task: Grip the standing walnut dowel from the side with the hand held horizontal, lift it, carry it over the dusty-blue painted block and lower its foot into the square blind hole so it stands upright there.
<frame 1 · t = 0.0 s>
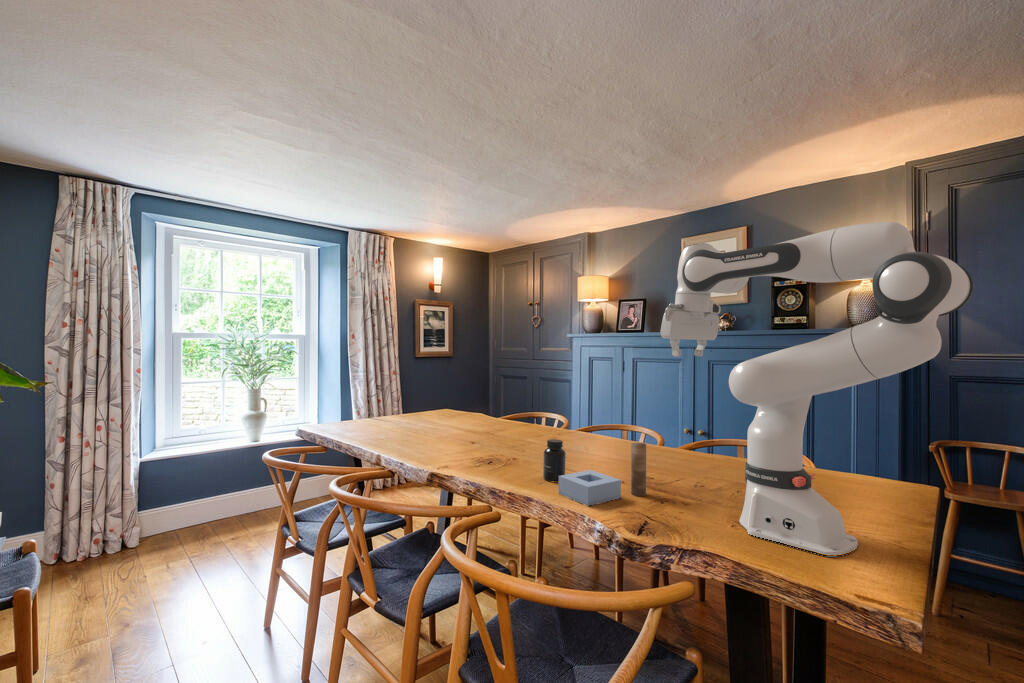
hand: (687, 356, 125), 39 cm above the table, tool pointing down, fingers open, 8 cm apart
dowel: (638, 494, 129), on the table
supplement bottle: (554, 479, 143), on the table
socket block: (589, 496, 127), on the table
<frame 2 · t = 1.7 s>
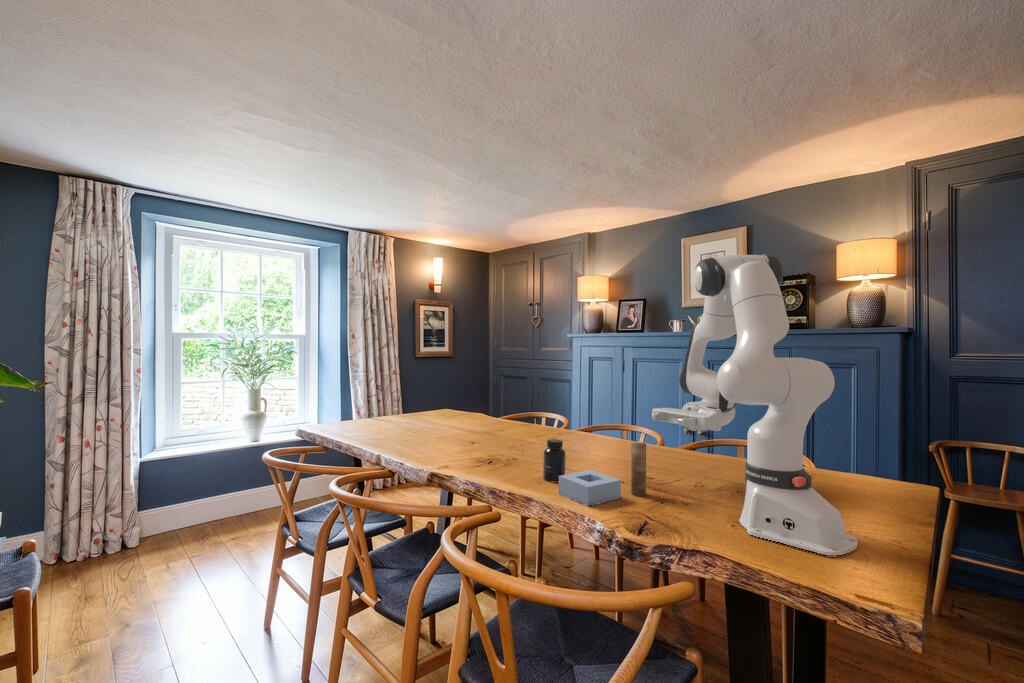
hand: (666, 419, 136), 20 cm above the table, tool horizontal, fingers open, 8 cm apart
nothing on the table moved.
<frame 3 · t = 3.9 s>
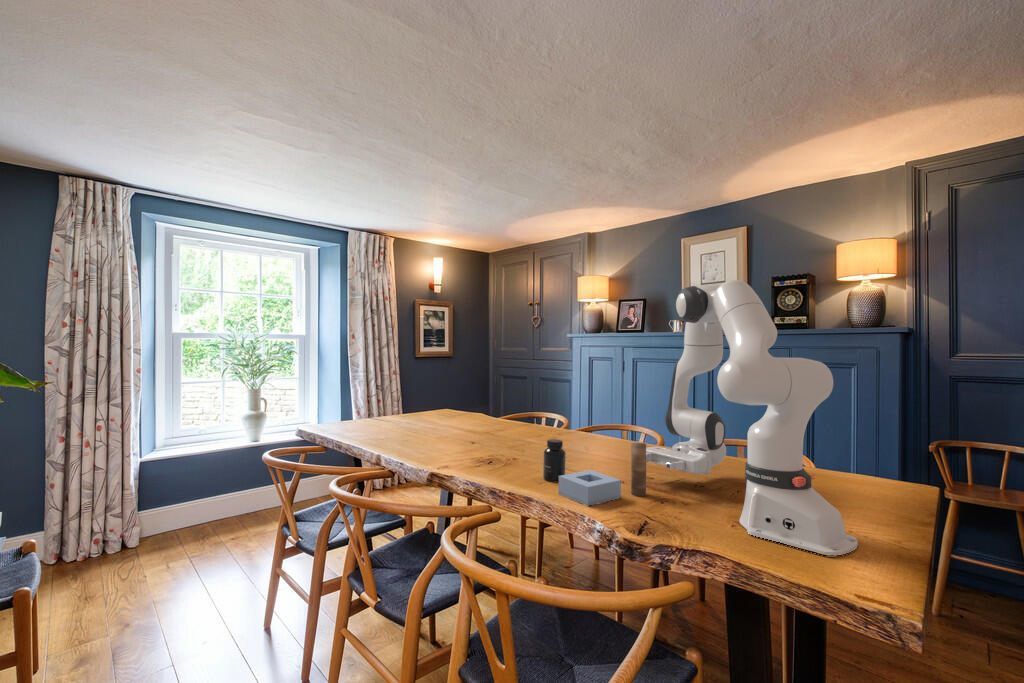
hand: (655, 462, 133), 8 cm above the table, tool horizontal, fingers open, 8 cm apart
nothing on the table moved.
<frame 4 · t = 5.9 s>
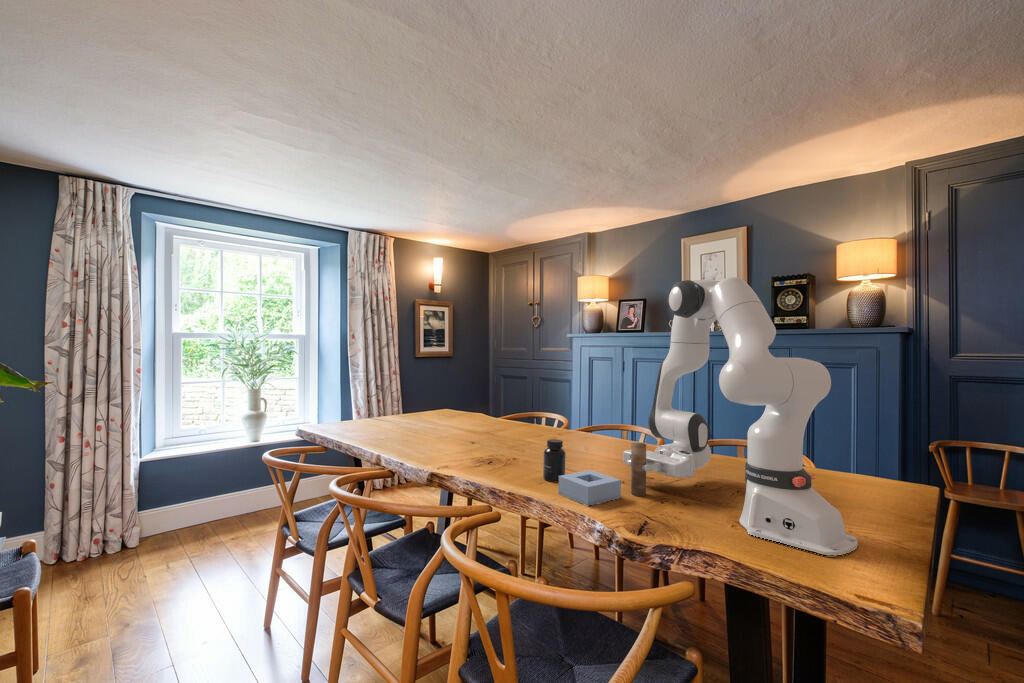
hand: (636, 465, 128), 8 cm above the table, tool horizontal, fingers closed on dowel, 4 cm apart
dowel: (638, 494, 129), on the table, touching gripper
everything else where it was.
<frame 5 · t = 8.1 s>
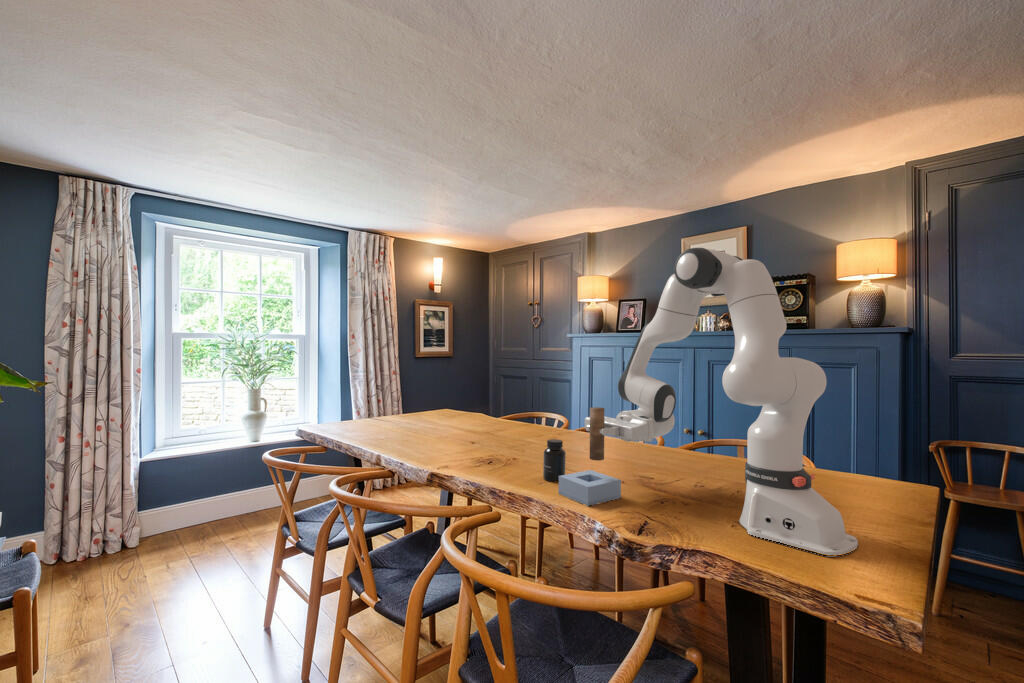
hand: (594, 430, 127), 18 cm above the table, tool horizontal, fingers closed on dowel, 4 cm apart
dowel: (596, 458, 128), point 10 cm above the table, touching gripper
everything else where it was.
when the fingers open (10 cm above the table, at t = 10.4 s): dowel drops 1 cm, resting on socket block.
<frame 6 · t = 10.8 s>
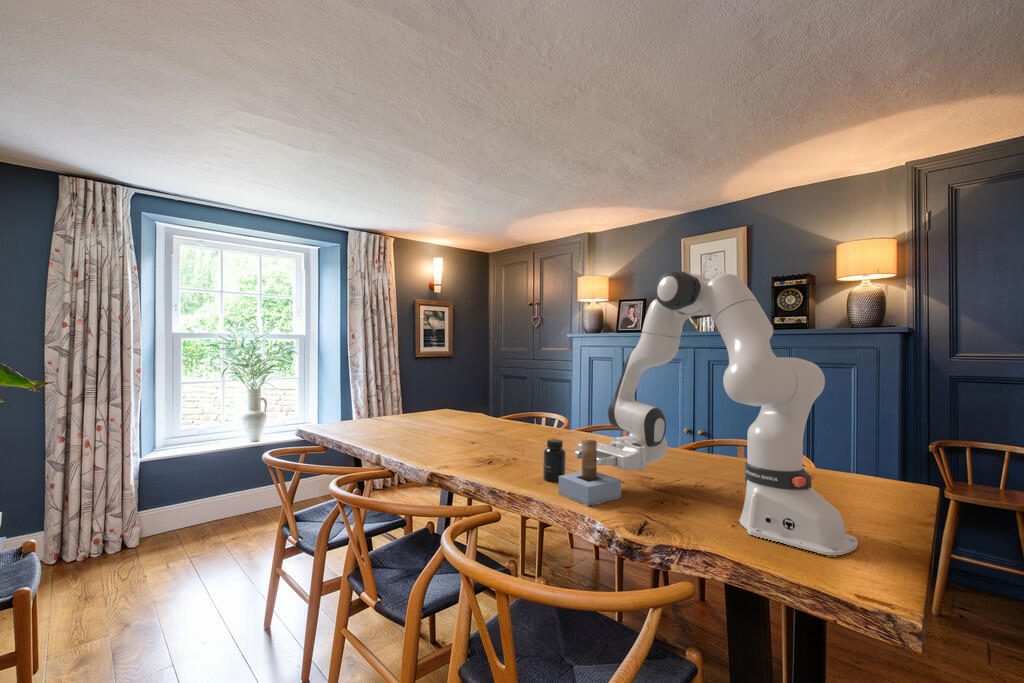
hand: (587, 458, 126), 10 cm above the table, tool horizontal, fingers open, 8 cm apart
dowel: (589, 492, 127), point 1 cm above the table, touching socket block
everything else where it was.
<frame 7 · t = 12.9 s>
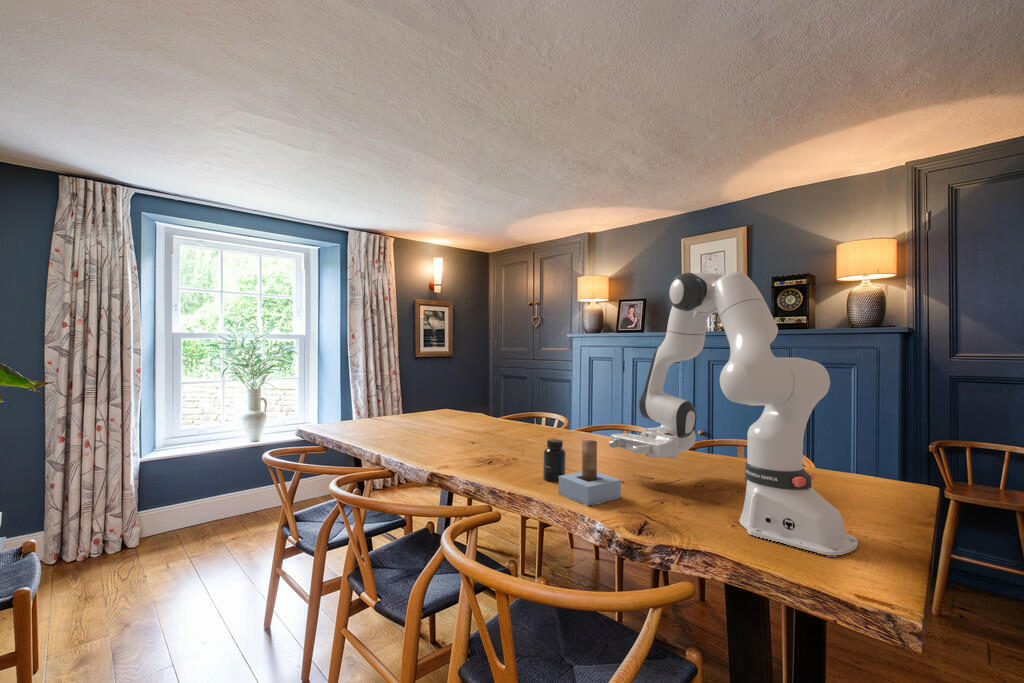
hand: (622, 447, 133), 12 cm above the table, tool horizontal, fingers open, 8 cm apart
nothing on the table moved.
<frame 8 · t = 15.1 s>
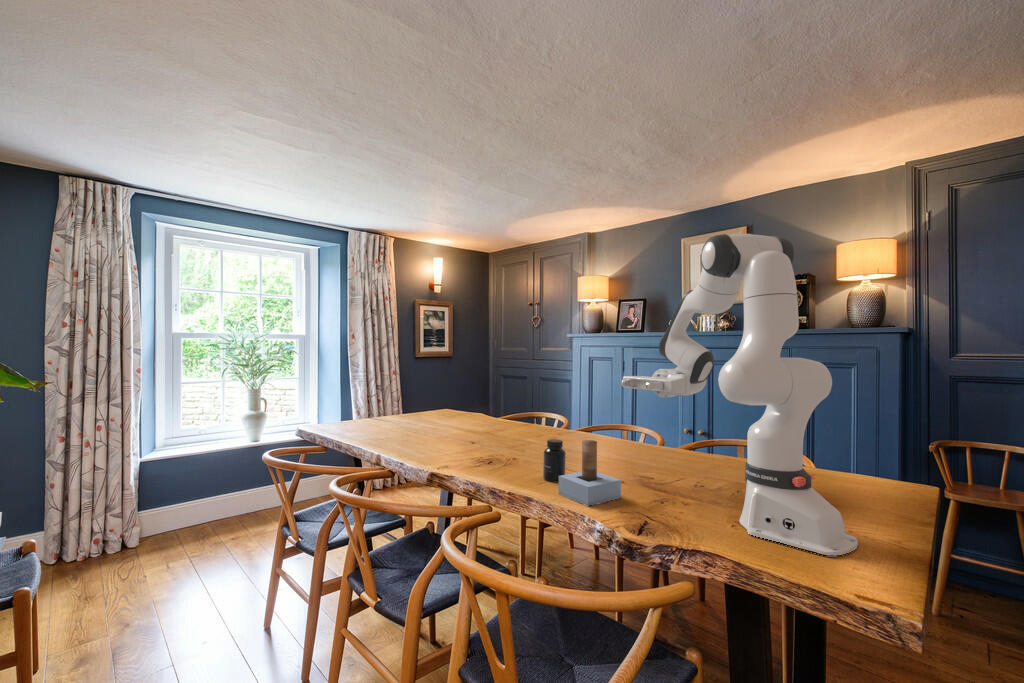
hand: (635, 384, 137), 30 cm above the table, tool horizontal, fingers open, 8 cm apart
nothing on the table moved.
at the end: dowel 0.0 cm off-centre on the socket block, point 1.0 cm above the socket block's base; dowel tilted 0°; the gripper is holding nothing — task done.
